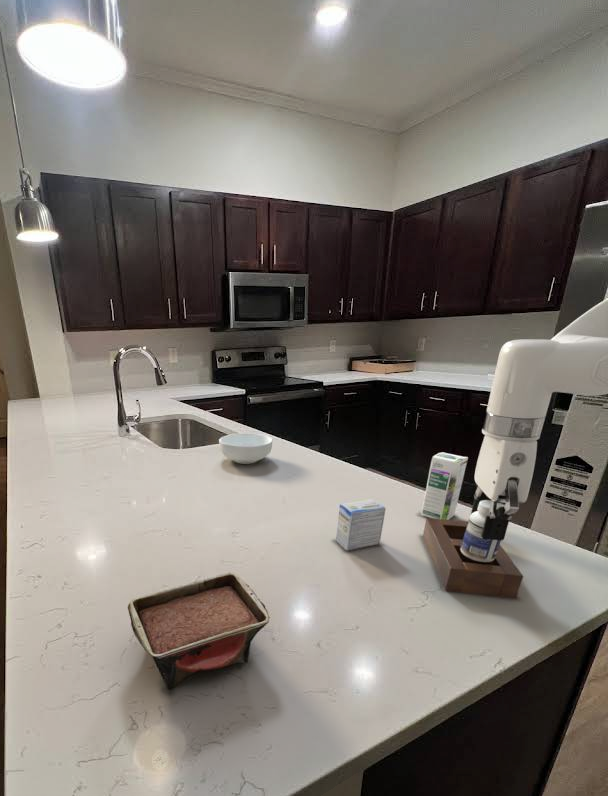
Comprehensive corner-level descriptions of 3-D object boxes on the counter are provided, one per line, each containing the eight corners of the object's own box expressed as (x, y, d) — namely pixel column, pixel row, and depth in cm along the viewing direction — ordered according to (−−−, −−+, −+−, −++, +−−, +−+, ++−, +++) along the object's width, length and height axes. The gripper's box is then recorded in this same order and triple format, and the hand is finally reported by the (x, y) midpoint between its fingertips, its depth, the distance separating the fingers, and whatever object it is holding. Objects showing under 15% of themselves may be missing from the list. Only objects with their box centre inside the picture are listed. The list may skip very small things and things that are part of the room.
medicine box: (367, 535, 89) (372, 498, 86) (380, 545, 85) (386, 506, 82) (334, 541, 87) (338, 503, 84) (346, 551, 83) (351, 512, 80)
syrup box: (419, 515, 98) (431, 456, 92) (430, 508, 101) (442, 450, 95) (444, 523, 94) (458, 462, 88) (455, 515, 97) (469, 456, 92)
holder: (478, 542, 86) (483, 522, 84) (515, 598, 69) (523, 576, 67) (422, 536, 88) (426, 517, 87) (445, 590, 71) (450, 568, 70)
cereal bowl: (278, 455, 139) (279, 435, 137) (261, 471, 126) (262, 449, 123) (231, 450, 146) (231, 430, 143) (210, 464, 132) (210, 443, 129)
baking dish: (269, 681, 57) (280, 617, 54) (137, 705, 50) (141, 633, 47) (231, 621, 69) (238, 566, 67) (121, 634, 63) (124, 574, 60)
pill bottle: (479, 546, 76) (495, 497, 72) (501, 562, 71) (520, 511, 67) (452, 547, 75) (467, 498, 71) (474, 564, 70) (490, 512, 66)
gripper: (569, 442, 55) (532, 558, 63) (516, 413, 71) (492, 510, 78) (505, 440, 57) (477, 554, 64) (468, 412, 72) (448, 507, 80)
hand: (485, 529), depth 71 cm, fingers closed on pill bottle, 5 cm apart
